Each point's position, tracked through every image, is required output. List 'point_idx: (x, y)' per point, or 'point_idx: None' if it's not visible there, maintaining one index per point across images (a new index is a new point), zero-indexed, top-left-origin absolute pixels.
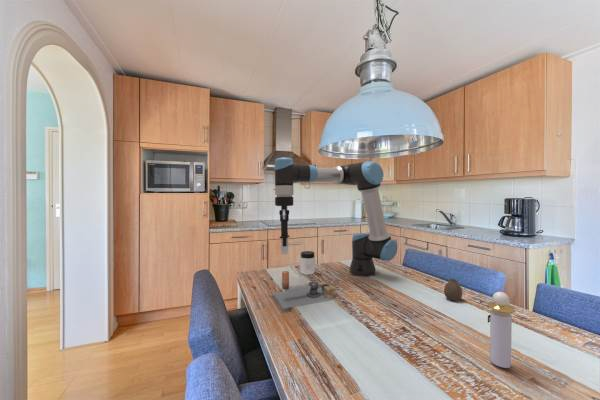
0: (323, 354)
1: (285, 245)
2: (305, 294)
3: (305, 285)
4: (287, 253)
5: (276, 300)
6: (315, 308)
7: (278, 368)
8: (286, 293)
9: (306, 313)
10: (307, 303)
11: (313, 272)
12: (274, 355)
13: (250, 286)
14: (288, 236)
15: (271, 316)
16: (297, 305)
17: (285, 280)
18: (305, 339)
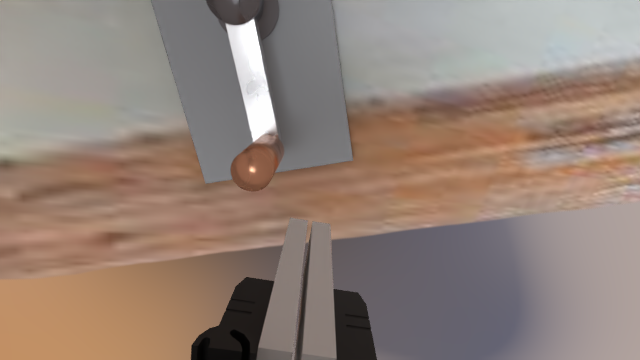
0: (628, 86)
1: (362, 310)
2: None
3: (243, 45)
4: (330, 231)
5: None
6: (350, 30)
7: (620, 203)
8: (214, 129)
9: (381, 77)
10: (331, 60)
11: None
12: (570, 207)
13: (101, 250)
14: (255, 355)
15: (371, 197)
16: (340, 105)
17: (277, 163)
18: (539, 118)
